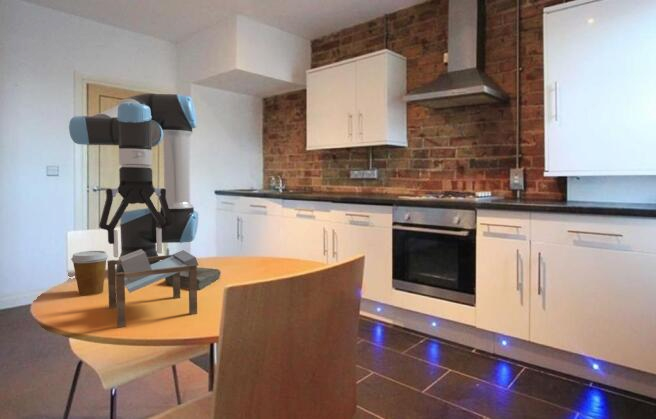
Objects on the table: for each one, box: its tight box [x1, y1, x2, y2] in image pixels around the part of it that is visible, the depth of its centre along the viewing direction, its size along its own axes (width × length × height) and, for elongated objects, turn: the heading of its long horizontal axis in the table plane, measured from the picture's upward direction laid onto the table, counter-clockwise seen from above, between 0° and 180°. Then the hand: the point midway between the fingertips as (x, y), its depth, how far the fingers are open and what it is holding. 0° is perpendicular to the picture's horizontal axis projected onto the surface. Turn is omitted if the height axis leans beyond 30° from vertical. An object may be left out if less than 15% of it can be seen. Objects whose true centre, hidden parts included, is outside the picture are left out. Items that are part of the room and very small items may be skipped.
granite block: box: [118, 249, 152, 283], centre depth 103 cm, size 6×6×6 cm
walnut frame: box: [107, 253, 198, 329], centre depth 105 cm, size 18×18×13 cm
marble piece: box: [164, 266, 222, 291], centre depth 134 cm, size 17×15×4 cm
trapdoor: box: [124, 249, 199, 294], centre depth 106 cm, size 15×17×2 cm
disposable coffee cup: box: [70, 250, 109, 296], centre depth 121 cm, size 10×10×12 cm
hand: (138, 254), depth 103 cm, fingers open, 9 cm apart
